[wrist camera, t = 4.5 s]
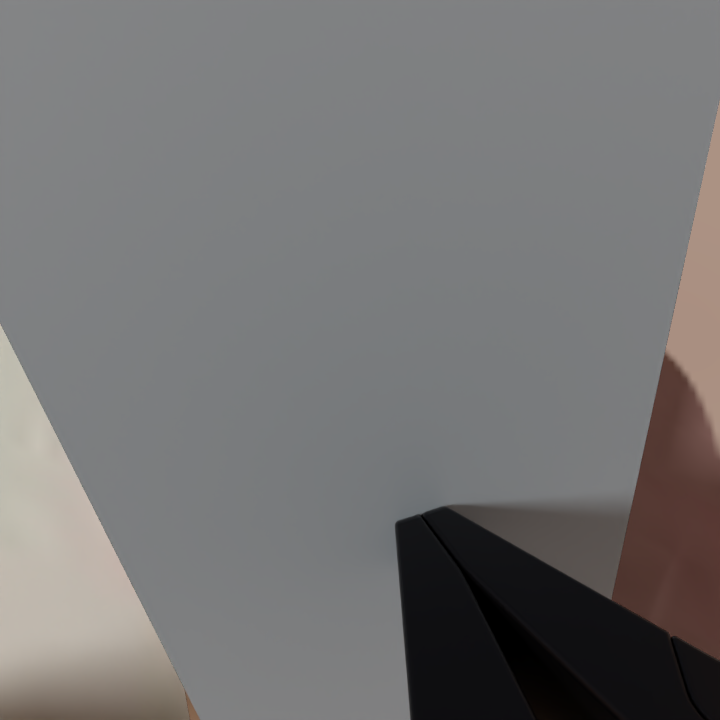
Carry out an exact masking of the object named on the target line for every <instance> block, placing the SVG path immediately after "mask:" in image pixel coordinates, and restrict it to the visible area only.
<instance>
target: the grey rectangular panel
mask: <svg viewBox="0 0 720 720" xmlns="http://www.w3.org/2000/svg"><path fill="white" fill-rule="evenodd" d="M719 100H720V0H0V324H1V326H2V328H3V330H4V332H5V334H6V336H7V338H8V340H9V342H10V344H11V346H12V348H13V350H14V352H15V354H16V356H17V358H18V359H19V361H20V363H21V365H22V367H23V369H24V371H25V373H26V375H27V377H28V379H29V381H30V383H31V385H32V387H33V389H34V391H35V393H36V395H37V397H38V399H39V401H40V403H41V405H42V407H43V409H44V411H45V413H46V415H47V417H48V419H49V421H50V423H51V425H52V427H53V429H54V431H55V433H56V435H57V437H58V439H59V441H60V443H61V445H62V447H63V449H64V451H65V453H66V455H67V457H68V459H69V461H70V463H71V465H72V467H73V469H74V471H75V473H76V475H77V477H78V478H79V480H80V482H81V484H82V486H83V488H84V490H85V492H86V494H87V496H88V498H89V500H90V502H91V504H92V506H93V508H94V510H95V512H96V514H97V516H98V518H99V520H100V522H101V524H102V526H103V528H104V530H105V532H106V534H107V536H108V538H109V540H110V542H111V544H112V546H113V548H114V550H115V552H116V554H117V556H118V558H119V560H120V562H121V564H122V566H123V568H124V570H125V572H126V574H127V576H128V578H129V580H130V582H131V584H132V586H133V588H134V590H135V592H136V594H137V596H138V597H139V599H140V601H141V603H142V605H143V607H144V609H145V611H146V613H147V615H148V617H149V619H150V621H151V623H152V625H153V627H154V629H155V631H156V633H157V635H158V637H159V639H160V641H161V643H162V645H163V647H164V649H165V651H166V653H167V655H168V657H169V659H170V661H171V663H172V665H173V667H174V669H175V671H176V673H177V675H178V677H179V679H180V681H181V683H182V685H183V687H184V689H185V691H186V693H187V695H188V697H189V699H190V701H191V703H192V705H193V707H194V709H195V711H196V713H197V715H198V716H199V718H200V720H410V710H409V698H408V685H407V673H406V661H405V648H404V636H403V624H402V611H401V599H400V586H399V574H398V562H397V549H396V537H395V523H396V522H397V521H398V520H401V519H404V518H408V517H411V516H414V515H419V516H421V515H422V514H423V513H424V512H426V511H429V510H432V509H435V508H439V507H442V506H445V507H448V508H450V509H452V510H454V511H456V512H457V513H459V514H461V515H463V516H464V517H466V518H468V519H470V520H471V521H473V522H475V523H477V524H479V525H480V526H482V527H484V528H486V529H487V530H489V531H491V532H493V533H494V534H496V535H498V536H500V537H501V538H503V539H505V540H507V541H508V542H510V543H512V544H514V545H516V546H517V547H519V548H521V549H523V550H524V551H526V552H528V553H530V554H531V555H533V556H535V557H537V558H538V559H540V560H542V561H544V562H545V563H547V564H549V565H551V566H553V567H554V568H556V569H558V570H560V571H561V572H563V573H565V574H567V575H568V576H570V577H572V578H574V579H575V580H577V581H579V582H581V583H582V584H584V585H586V586H588V587H590V588H591V589H593V590H595V591H597V592H598V593H600V594H602V595H604V596H605V597H607V598H609V599H612V594H613V589H614V585H615V580H616V576H617V571H618V566H619V562H620V557H621V552H622V548H623V543H624V539H625V534H626V529H627V525H628V520H629V516H630V511H631V506H632V502H633V497H634V492H635V488H636V483H637V479H638V474H639V469H640V465H641V460H642V455H643V451H644V446H645V442H646V437H647V432H648V428H649V423H650V419H651V414H652V409H653V405H654V400H655V395H656V391H657V386H658V382H659V377H660V372H661V368H662V363H663V359H664V354H665V349H666V345H667V340H668V335H669V331H670V326H671V322H672V317H673V312H674V308H675V303H676V298H677V294H678V289H679V284H680V280H681V275H682V270H683V266H684V261H685V257H686V252H687V247H688V243H689V238H690V234H691V229H692V224H693V220H694V215H695V211H696V206H697V202H698V196H699V192H700V188H701V183H702V178H703V174H704V169H705V164H706V160H707V155H708V151H709V146H710V141H711V137H712V132H713V128H714V122H715V118H716V114H717V109H718V105H719Z"/></svg>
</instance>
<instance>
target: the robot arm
mask: <svg viewBox="0 0 720 720" xmlns="http://www.w3.org/2000/svg"><path fill="white" fill-rule="evenodd" d="M395 537H396V549H397V562H398V574H399V586H400V599H401V611H402V624H403V636H404V648H405V661H406V673H407V685H408V698H409V710H410V720H720V661H719V660H717V659H715V658H714V657H712V656H710V655H708V654H706V653H705V652H703V651H701V650H699V649H697V648H696V647H694V646H692V645H690V644H689V643H687V642H685V641H683V640H682V639H680V638H678V637H676V636H673V637H670V635H669V633H668V632H667V631H665V630H664V629H662V628H660V627H658V626H656V625H655V624H653V623H651V622H649V621H648V620H646V619H644V618H642V617H641V616H639V615H637V614H635V613H634V612H632V611H630V610H628V609H627V608H625V607H623V606H621V605H619V604H618V603H616V602H614V601H612V600H611V599H609V598H607V597H605V596H604V595H602V594H600V593H598V592H597V591H595V590H593V589H591V588H590V587H588V586H586V585H584V584H582V583H581V582H579V581H577V580H575V579H574V578H572V577H570V576H568V575H567V574H565V573H563V572H561V571H560V570H558V569H556V568H554V567H553V566H551V565H549V564H547V563H545V562H544V561H542V560H540V559H538V558H537V557H535V556H533V555H531V554H530V553H528V552H526V551H524V550H523V549H521V548H519V547H517V546H516V545H514V544H512V543H510V542H508V541H507V540H505V539H503V538H501V537H500V536H498V535H496V534H494V533H493V532H491V531H489V530H487V529H486V528H484V527H482V526H480V525H479V524H477V523H475V522H473V521H471V520H470V519H468V518H466V517H464V516H463V515H461V514H459V513H457V512H456V511H454V510H452V509H450V508H448V507H445V506H442V507H439V508H435V509H432V510H429V511H426V512H424V513H423V514H422V515H421V516H419V515H414V516H411V517H408V518H404V519H401V520H398V521H397V522H396V523H395Z"/></svg>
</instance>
